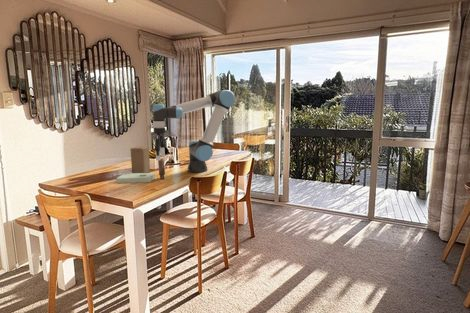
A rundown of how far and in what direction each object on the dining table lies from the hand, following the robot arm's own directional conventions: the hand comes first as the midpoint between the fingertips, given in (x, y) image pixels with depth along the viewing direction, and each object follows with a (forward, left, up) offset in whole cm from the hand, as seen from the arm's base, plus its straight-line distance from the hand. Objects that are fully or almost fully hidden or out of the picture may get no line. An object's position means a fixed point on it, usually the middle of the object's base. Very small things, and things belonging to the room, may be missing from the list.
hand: (160, 158), depth 204 cm
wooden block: (+19, -16, -15) cm, 29 cm away
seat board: (+17, +2, -14) cm, 22 cm away
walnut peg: (0, 0, -14) cm, 14 cm away
